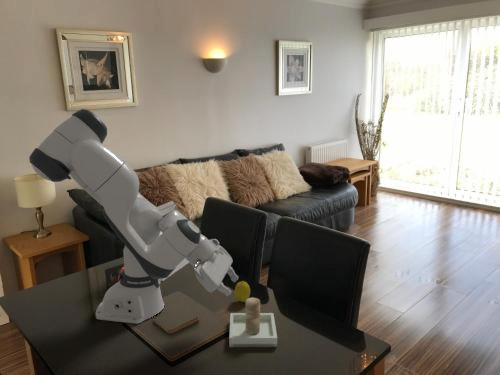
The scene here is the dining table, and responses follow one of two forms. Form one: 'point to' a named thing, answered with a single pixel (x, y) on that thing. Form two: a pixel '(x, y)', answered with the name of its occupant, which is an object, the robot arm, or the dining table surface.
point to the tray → (243, 339)
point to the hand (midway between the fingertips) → (233, 286)
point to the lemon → (242, 291)
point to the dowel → (252, 316)
